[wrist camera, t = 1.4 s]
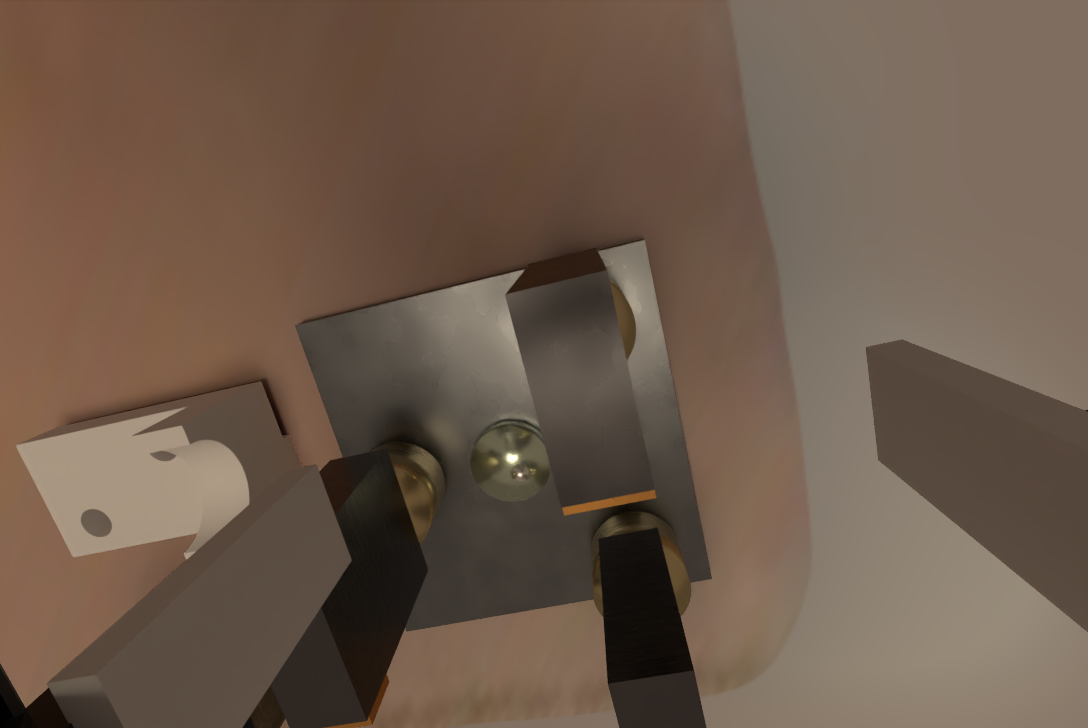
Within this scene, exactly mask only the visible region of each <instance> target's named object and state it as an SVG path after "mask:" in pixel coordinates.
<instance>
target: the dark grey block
mask: <svg viewBox="0 0 1088 728" xmlns="http://www.w3.org/2000/svg"><path fill="white" fill-rule="evenodd" d="M505 297H506V301H507V305H508V309H509V312H510V316H511V320H512V324H513V328H514V331H515V335H516V339H517V343H518V346H519V350H520V354H521V358H522V362H523V365H524V369H525V373H526V377H527V380H528V384H529V388H530V392H531V395H532V399H533V403H534V407H535V411H536V414H537V418H538V422H539V426H540V429H541V433H542V437H543V441H544V445H545V448H546V452H547V456H548V460H549V463H550V467H551V471H552V475H553V478H554V482H555V486H556V490H557V494H558V497H559V501H560V505H561V508H562V509H563V512H564V516H565V515H570V514H575V513H580V512H586V511H591V510H596V509H601V508H606V507H612V506H617V505H622V504H627V503H633V502H638V501H643V500H648V499H654V498H656V494H655V488H654V484H653V479H652V475H651V470H650V465H649V461H648V456H647V452H646V447H645V442H644V438H643V433H642V428H641V424H640V419H639V415H638V410H637V405H636V401H635V396H634V392H633V387H632V382H631V378H630V373H629V368H628V364H627V360H628V358H629V356H630V355H631V352H632V350H633V348H634V344H635V340H636V322H635V317H634V314H633V311H632V309H631V306H630V305H629V303H628V301H627V299H626V297H625V295H624V293H623V292H622V290H621V289H620V287H619V286H618V285H617V284H616V283H615V282H614V281H613V280H612V279H611V278H610V277H609V276H608V272H607V269H606V267H605V265H604V262H603V260H602V258H601V256H600V254H599V252H598V250H597V248H593V249H589V250H585V251H581V252H577V253H573V254H569V255H565V256H561V257H557V258H552V259H548V260H544V261H540V262H536V263H532V264H529V265H528V267H527V268H526V269H525V270H524V272H523V273H522V274H521V275H520V277H519V278H518V279H517V280H516V282H515V283H514V284H513V285H512V286H511V288H510V289H509V290H508V291H507V293H506V294H505Z"/></svg>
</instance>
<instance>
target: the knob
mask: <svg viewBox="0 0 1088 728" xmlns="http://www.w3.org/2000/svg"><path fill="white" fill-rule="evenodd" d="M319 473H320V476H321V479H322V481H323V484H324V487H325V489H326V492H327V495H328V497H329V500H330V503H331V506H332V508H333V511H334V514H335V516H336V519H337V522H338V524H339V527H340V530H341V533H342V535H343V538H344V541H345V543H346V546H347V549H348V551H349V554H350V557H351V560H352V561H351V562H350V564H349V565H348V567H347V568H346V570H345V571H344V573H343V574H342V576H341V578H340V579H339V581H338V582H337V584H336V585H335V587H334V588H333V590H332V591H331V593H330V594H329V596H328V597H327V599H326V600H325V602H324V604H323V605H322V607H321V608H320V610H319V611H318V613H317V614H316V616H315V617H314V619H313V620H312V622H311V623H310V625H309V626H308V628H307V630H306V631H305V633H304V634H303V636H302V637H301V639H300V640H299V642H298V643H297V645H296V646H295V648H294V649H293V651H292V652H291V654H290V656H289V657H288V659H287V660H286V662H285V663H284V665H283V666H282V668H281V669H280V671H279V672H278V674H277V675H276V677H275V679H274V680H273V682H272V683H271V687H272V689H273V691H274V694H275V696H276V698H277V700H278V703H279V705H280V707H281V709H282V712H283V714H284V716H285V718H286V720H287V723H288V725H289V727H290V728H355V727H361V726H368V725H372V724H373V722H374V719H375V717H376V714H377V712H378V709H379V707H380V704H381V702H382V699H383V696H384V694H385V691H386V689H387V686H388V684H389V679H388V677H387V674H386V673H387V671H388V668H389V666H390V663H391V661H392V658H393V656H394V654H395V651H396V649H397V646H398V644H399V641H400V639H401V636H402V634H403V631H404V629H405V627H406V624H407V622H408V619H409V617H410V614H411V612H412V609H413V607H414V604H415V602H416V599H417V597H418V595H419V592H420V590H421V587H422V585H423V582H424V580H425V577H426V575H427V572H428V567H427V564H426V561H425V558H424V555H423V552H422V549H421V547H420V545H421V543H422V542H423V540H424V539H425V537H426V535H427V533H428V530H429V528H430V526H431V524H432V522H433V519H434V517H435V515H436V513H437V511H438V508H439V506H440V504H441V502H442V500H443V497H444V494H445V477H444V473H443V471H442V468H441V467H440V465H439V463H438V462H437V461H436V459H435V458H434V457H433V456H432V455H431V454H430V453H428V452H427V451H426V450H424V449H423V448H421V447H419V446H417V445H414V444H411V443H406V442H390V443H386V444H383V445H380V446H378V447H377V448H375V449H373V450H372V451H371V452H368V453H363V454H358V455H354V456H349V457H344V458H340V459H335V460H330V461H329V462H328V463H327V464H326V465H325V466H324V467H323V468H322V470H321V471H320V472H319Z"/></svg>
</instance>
